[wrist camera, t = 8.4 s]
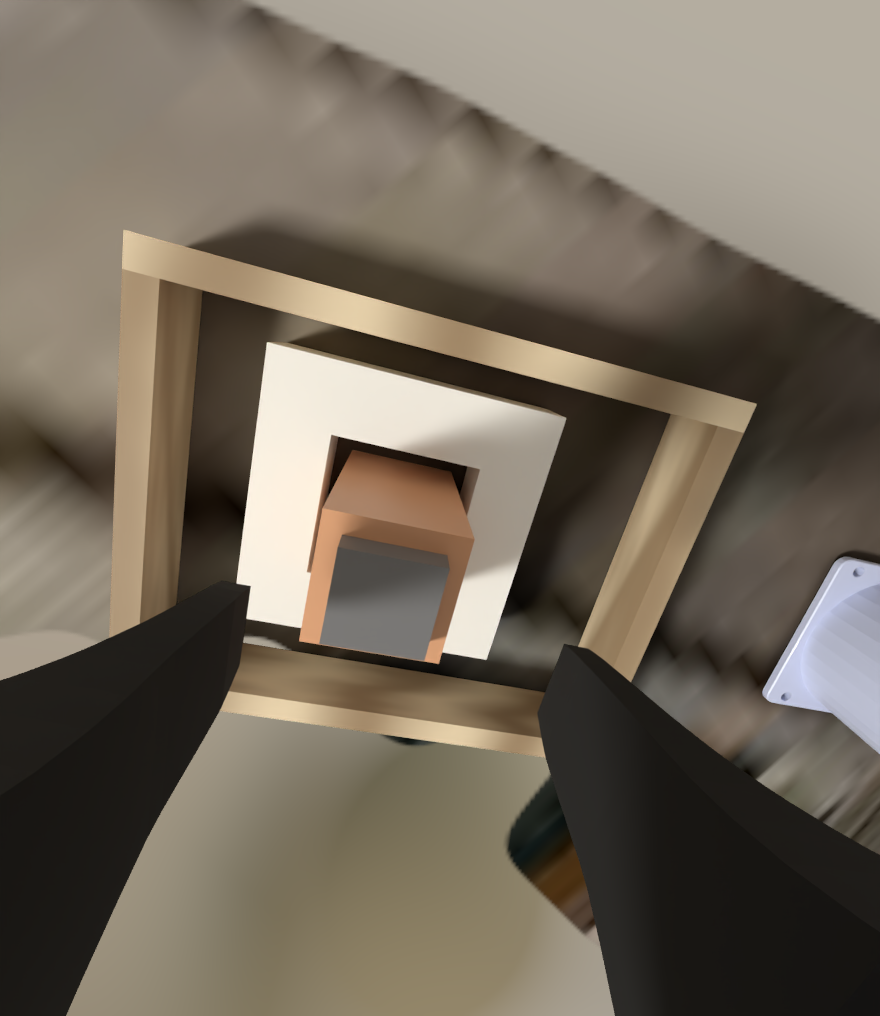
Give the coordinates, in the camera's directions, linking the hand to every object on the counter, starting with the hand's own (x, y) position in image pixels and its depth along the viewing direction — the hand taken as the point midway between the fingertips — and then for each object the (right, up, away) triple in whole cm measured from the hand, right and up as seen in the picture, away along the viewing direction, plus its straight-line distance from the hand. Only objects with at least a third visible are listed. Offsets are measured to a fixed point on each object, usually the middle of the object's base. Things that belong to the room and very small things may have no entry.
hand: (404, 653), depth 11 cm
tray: (0, +2, +9) cm, 9 cm away
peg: (-1, +3, +9) cm, 9 cm away
